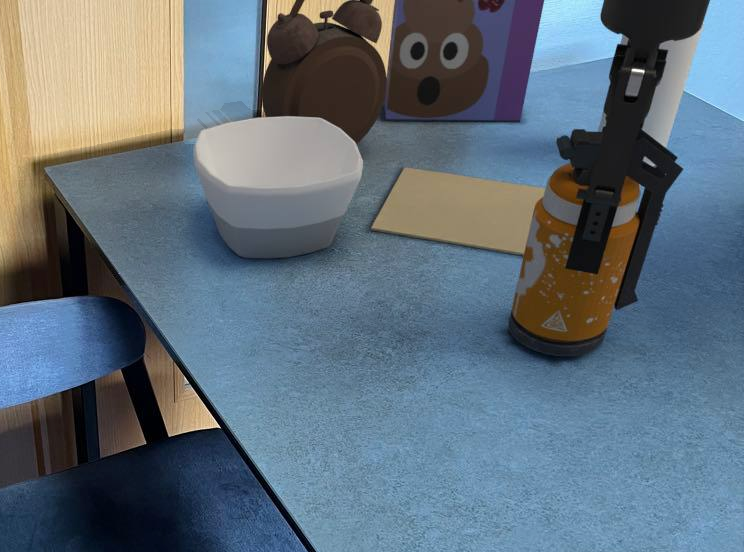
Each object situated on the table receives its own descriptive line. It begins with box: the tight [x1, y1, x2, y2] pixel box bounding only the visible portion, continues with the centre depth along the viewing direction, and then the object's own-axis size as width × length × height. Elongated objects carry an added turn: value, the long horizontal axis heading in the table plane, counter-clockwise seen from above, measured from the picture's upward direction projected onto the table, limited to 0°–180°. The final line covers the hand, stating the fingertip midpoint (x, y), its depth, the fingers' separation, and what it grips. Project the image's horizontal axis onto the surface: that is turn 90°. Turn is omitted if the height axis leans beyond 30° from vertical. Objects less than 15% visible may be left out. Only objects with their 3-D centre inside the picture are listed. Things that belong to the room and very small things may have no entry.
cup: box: [597, 20, 705, 167], centre depth 122 cm, size 8×8×16 cm
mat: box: [370, 166, 546, 257], centre depth 118 cm, size 20×16×1 cm
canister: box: [507, 128, 684, 357], centre depth 93 cm, size 9×11×20 cm
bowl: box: [192, 116, 364, 259], centre depth 112 cm, size 18×18×9 cm
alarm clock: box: [261, 0, 387, 145], centre depth 121 cm, size 14×7×20 cm, turn 115°
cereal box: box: [383, 0, 545, 123], centre depth 128 cm, size 17×5×24 cm, turn 87°
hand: (590, 232), depth 92 cm, fingers open, 13 cm apart
